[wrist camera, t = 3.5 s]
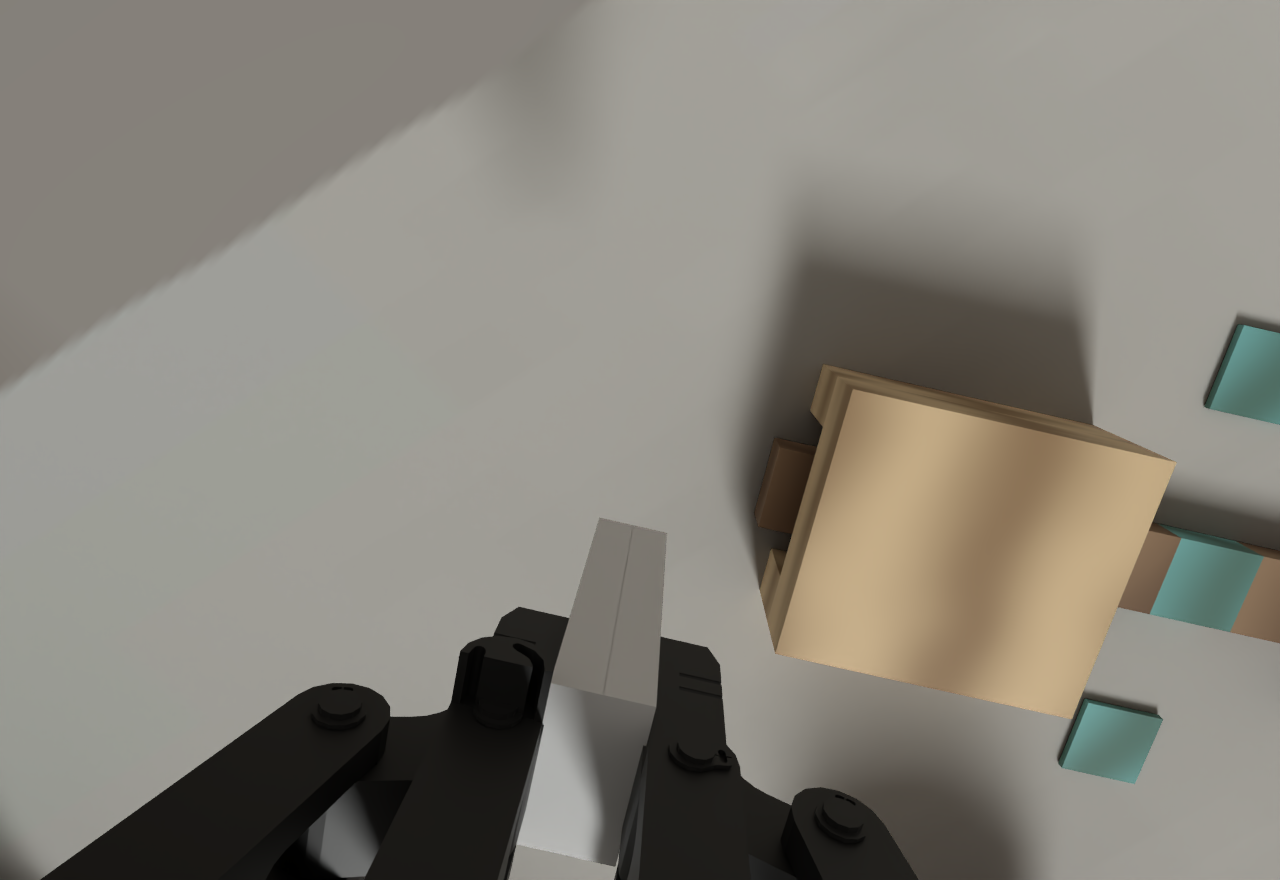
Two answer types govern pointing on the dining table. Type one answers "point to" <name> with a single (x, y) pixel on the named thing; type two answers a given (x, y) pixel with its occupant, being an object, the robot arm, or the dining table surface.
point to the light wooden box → (959, 542)
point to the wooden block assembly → (1137, 563)
